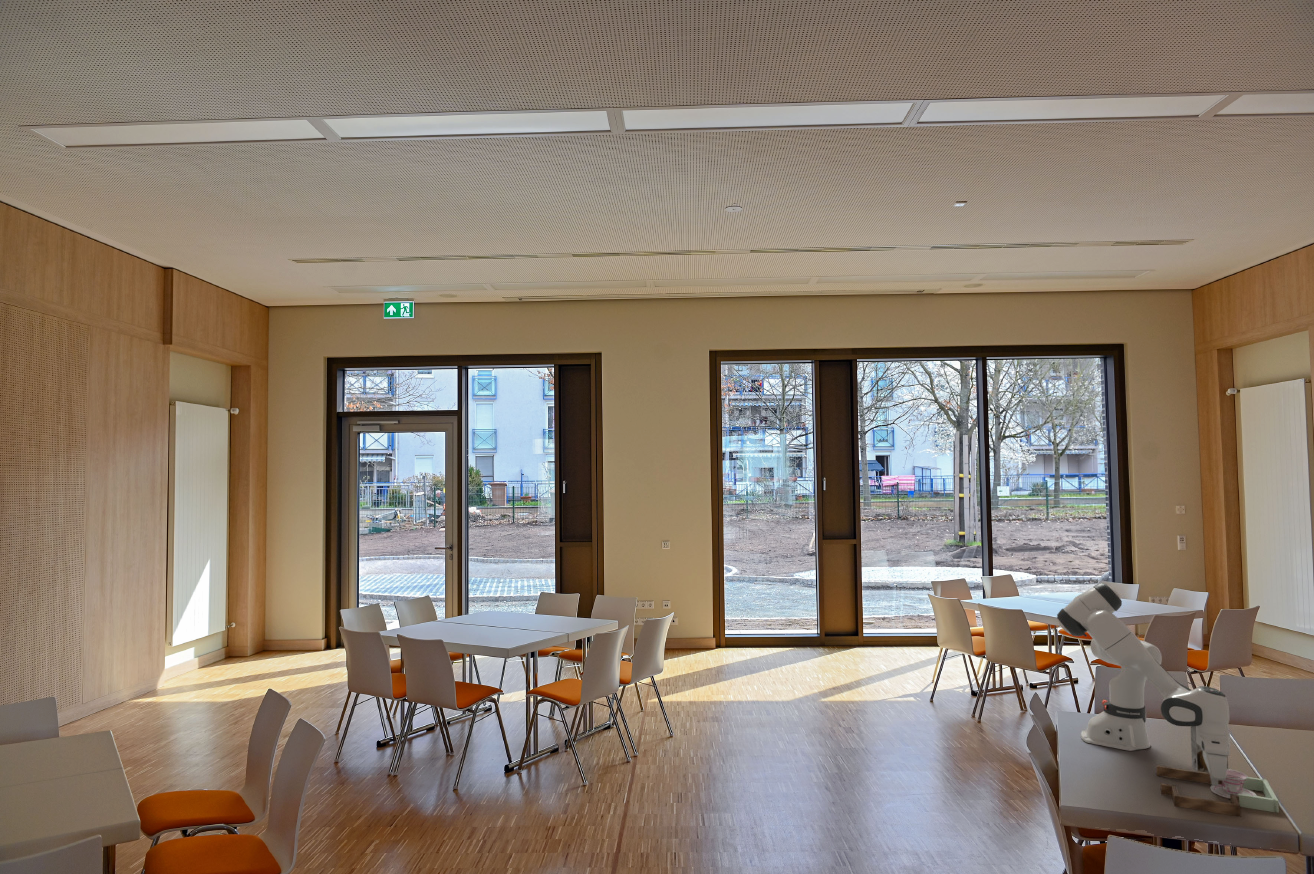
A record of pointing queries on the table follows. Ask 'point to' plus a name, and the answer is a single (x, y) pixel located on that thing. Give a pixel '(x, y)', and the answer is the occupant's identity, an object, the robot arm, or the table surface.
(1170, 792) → the channel
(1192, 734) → the coffee box
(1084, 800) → the table surface
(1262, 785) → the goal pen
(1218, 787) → the teacup
